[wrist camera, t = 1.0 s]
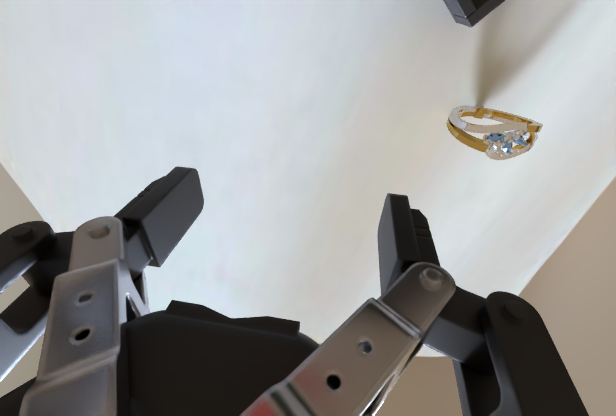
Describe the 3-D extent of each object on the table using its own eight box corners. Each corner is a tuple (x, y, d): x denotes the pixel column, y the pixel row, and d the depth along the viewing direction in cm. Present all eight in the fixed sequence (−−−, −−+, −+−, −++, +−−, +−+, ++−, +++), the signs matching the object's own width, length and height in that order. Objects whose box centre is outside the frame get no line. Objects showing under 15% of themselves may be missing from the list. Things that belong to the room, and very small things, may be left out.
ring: (434, 120, 29) (456, 157, 23) (447, 87, 27) (474, 118, 21) (504, 131, 29) (545, 171, 22) (522, 98, 27) (573, 133, 20)
